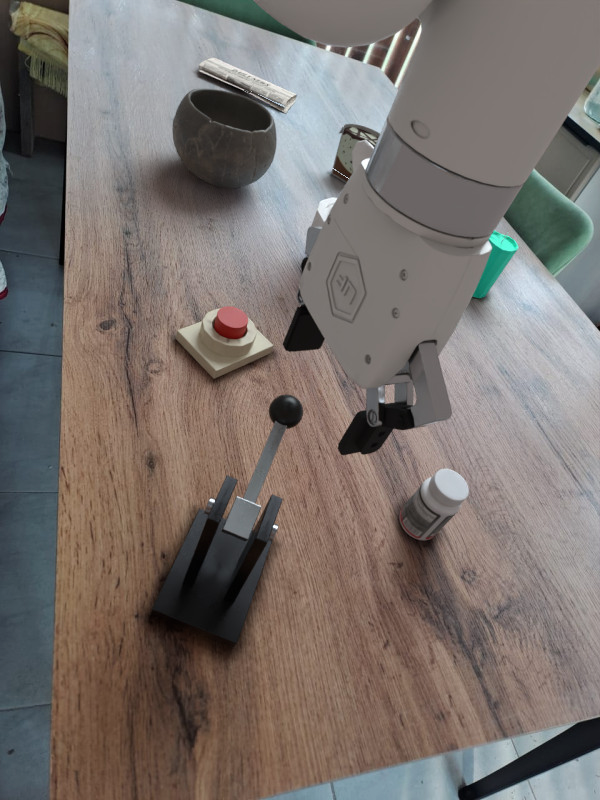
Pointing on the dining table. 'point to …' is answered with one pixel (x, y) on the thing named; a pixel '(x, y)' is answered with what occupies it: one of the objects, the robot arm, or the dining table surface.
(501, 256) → the candle
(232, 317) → the button
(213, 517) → the bracket
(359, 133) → the food container
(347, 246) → the robot arm
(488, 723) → the dining table surface
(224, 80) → the newspaper
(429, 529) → the pill bottle
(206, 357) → the button box
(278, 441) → the lever
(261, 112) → the bowl
